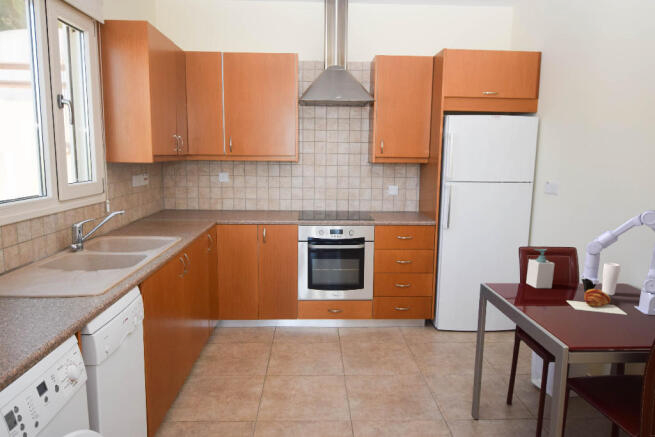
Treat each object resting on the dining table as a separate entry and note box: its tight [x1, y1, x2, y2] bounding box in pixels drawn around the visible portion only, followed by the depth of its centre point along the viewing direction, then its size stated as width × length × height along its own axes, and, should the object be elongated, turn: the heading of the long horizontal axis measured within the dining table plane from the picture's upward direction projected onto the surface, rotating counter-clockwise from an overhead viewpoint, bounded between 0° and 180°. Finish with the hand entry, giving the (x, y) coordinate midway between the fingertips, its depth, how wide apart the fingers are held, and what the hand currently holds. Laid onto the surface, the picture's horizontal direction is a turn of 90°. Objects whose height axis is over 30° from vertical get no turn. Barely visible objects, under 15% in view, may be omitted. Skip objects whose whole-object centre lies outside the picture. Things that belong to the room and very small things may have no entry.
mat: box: [565, 300, 628, 316], centre depth 191 cm, size 12×20×1 cm, turn 79°
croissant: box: [583, 288, 611, 306], centre depth 196 cm, size 21×10×8 cm, turn 133°
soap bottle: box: [525, 248, 555, 289], centre depth 220 cm, size 9×9×19 cm
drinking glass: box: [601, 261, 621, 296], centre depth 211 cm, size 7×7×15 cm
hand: (587, 295), depth 203 cm, fingers closed
